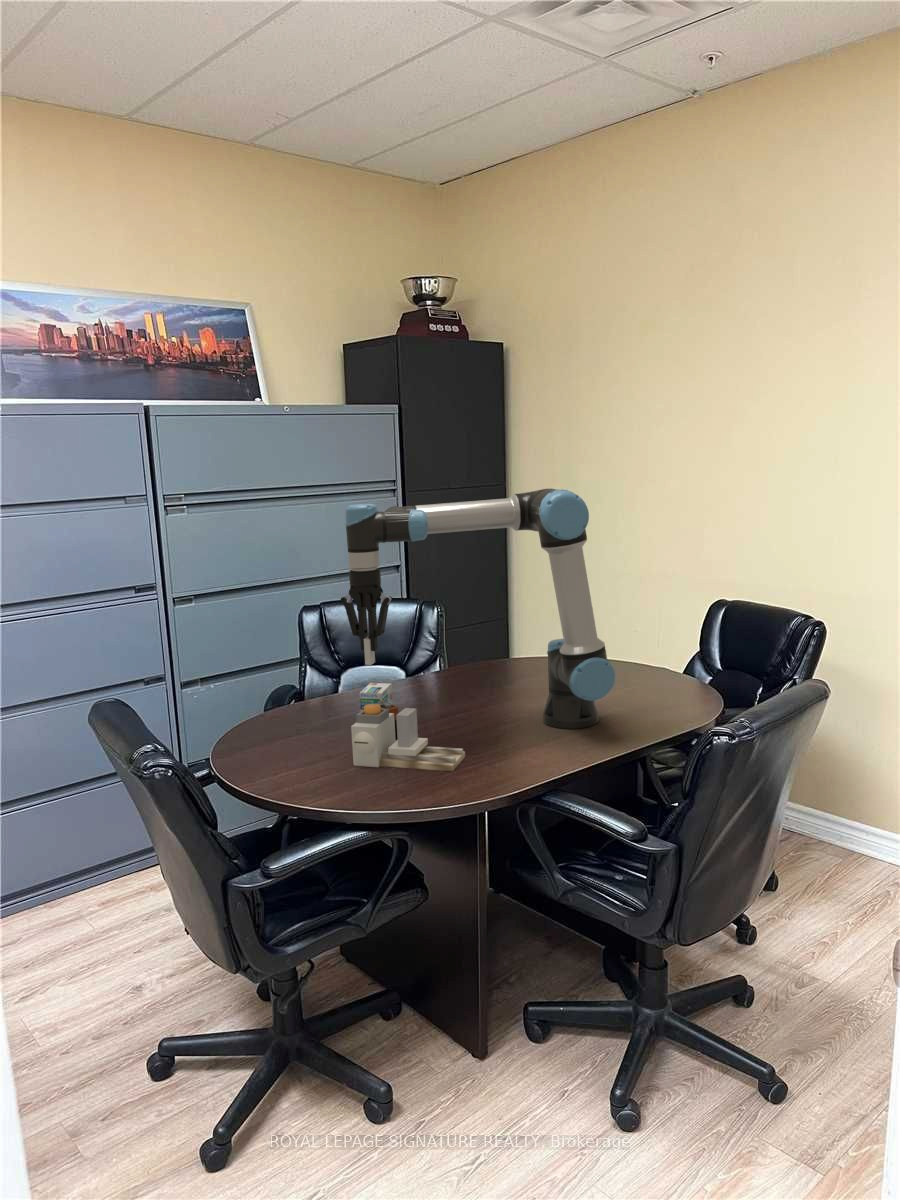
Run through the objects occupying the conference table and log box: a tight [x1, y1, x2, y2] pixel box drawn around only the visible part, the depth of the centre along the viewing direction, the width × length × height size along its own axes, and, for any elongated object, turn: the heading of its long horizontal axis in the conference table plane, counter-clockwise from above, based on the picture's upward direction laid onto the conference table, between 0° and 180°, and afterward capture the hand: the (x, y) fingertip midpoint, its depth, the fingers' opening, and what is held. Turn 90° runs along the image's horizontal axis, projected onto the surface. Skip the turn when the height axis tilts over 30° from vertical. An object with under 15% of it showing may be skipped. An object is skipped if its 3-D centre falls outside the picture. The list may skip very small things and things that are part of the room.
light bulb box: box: [359, 682, 394, 712], centre depth 255 cm, size 11×7×11 cm, turn 168°
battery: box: [378, 701, 399, 741], centre depth 243 cm, size 4×7×10 cm, turn 39°
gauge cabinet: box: [350, 709, 397, 768], centre depth 227 cm, size 6×13×12 cm, turn 162°
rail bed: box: [380, 745, 466, 772], centre depth 224 cm, size 18×10×3 cm, turn 72°
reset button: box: [364, 704, 381, 715], centre depth 227 cm, size 4×4×3 cm
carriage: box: [388, 707, 429, 756], centre depth 224 cm, size 7×9×10 cm
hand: (370, 663), depth 225 cm, fingers closed
